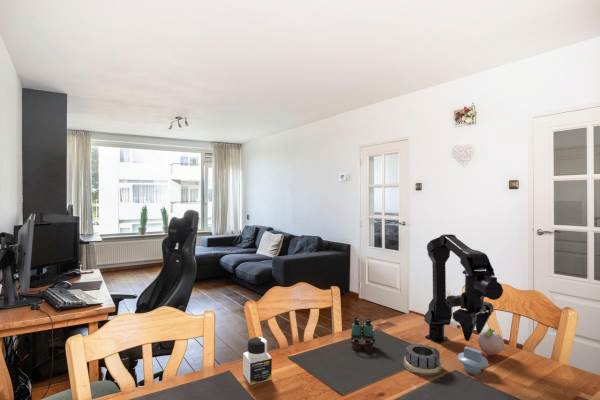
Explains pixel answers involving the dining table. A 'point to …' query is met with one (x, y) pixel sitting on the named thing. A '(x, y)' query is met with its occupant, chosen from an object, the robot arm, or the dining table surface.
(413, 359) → the notched grey ring
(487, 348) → the decorative fruit
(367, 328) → the binoculars
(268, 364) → the medicine bottle
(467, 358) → the grey rounded piece
